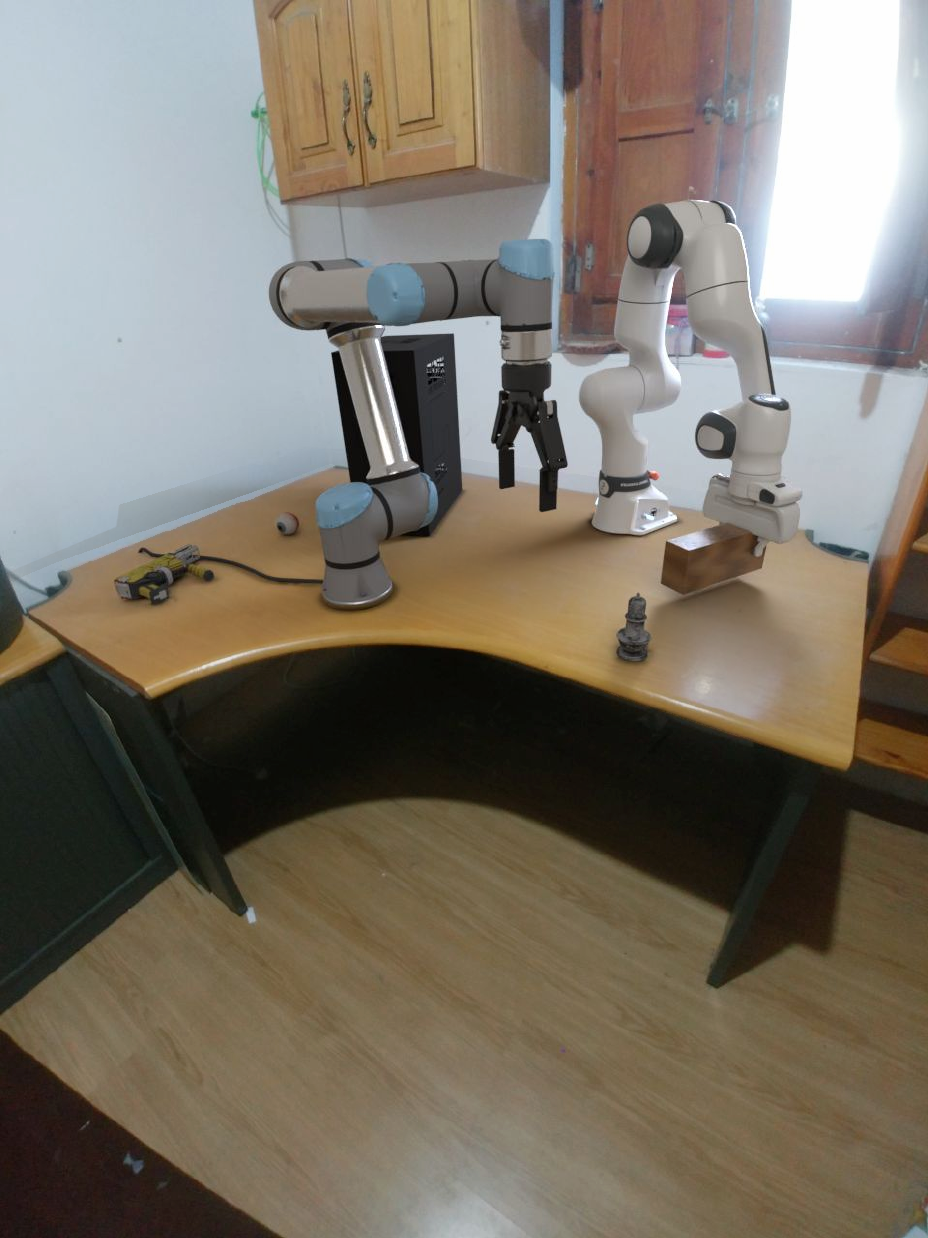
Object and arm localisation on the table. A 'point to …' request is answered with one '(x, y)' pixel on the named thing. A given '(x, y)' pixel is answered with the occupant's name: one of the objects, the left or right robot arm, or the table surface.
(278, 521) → the eyeball
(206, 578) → the toy gun
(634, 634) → the grey chess piece
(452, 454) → the black computer tower
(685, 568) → the box
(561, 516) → the table surface
